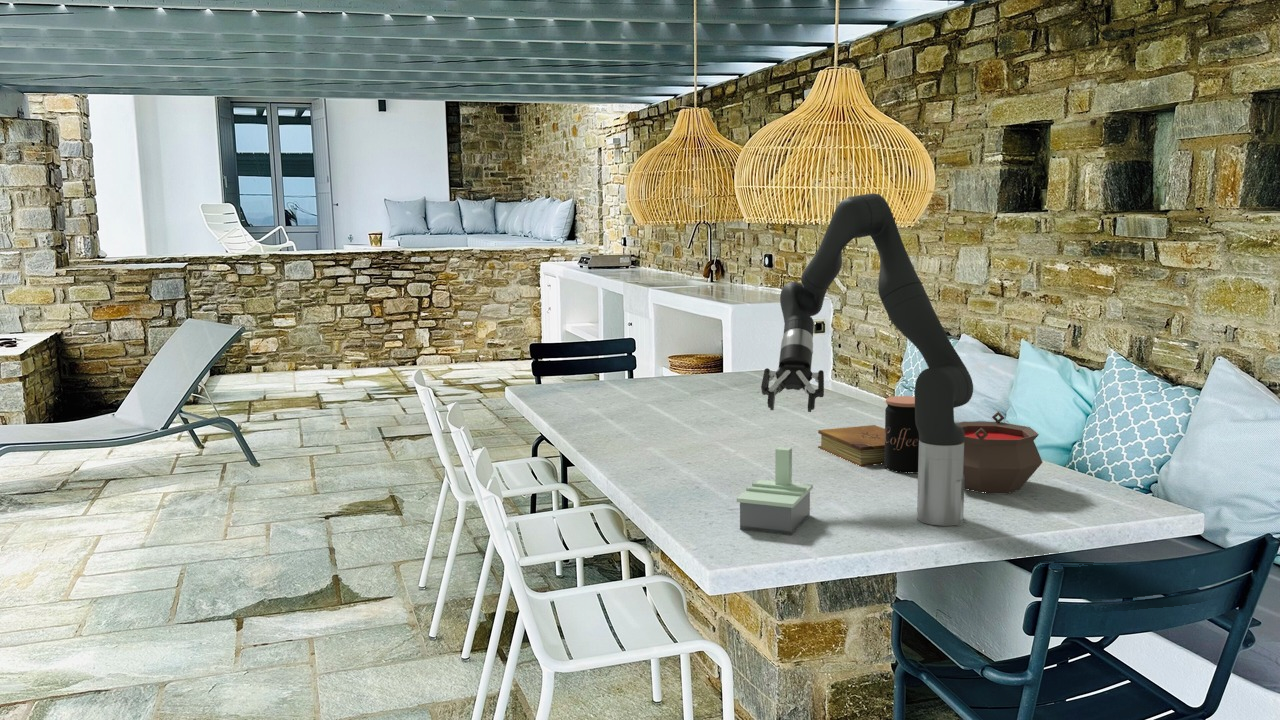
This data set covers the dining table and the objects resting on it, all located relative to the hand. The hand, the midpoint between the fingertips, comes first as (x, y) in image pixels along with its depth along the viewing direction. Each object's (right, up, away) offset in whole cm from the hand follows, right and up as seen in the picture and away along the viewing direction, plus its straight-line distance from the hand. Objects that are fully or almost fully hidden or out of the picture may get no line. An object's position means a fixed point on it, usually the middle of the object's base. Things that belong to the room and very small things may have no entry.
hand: (790, 409), depth 230 cm
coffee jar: (+34, -17, +29) cm, 48 cm away
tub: (-5, -23, -14) cm, 28 cm away
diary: (+28, -15, +46) cm, 56 cm away
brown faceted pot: (+49, -19, +12) cm, 54 cm away
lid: (-5, -18, -15) cm, 24 cm away
